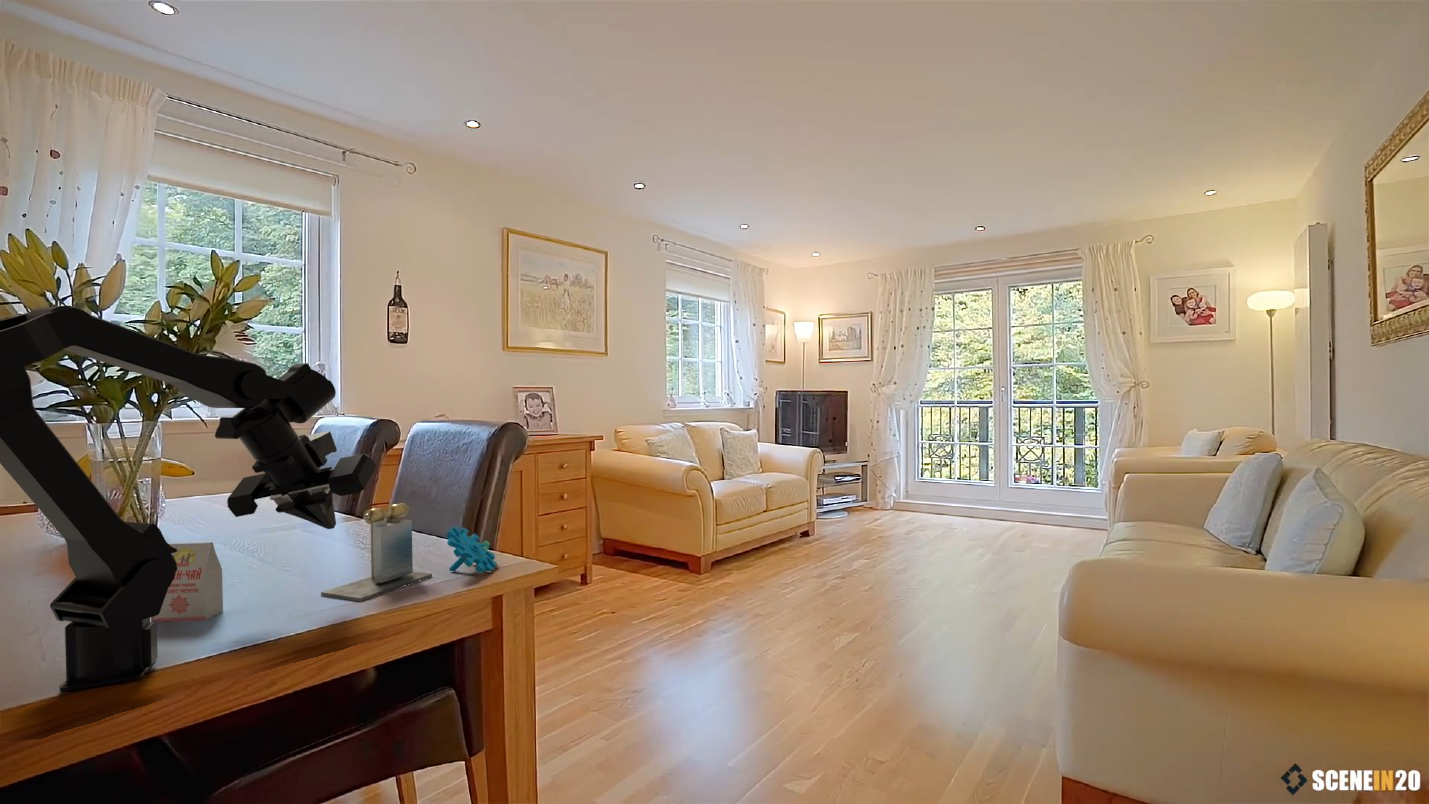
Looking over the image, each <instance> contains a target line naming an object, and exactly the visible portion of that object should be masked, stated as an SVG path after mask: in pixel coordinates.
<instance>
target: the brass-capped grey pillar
mask: <svg viewBox="0 0 1429 804" xmlns="http://www.w3.org/2000/svg"><path fill="white" fill-rule="evenodd" d="M385 516H386V514H385V509H383V508H382V507H374V508H372V509H366V510H365V511H364V514H363V520H364V521H365V523H366V524H368V525H371V524H372V523H373V552H374V582H378V583H383V582H386V581H389V580H392V579H395V578H398V577H402V576H405V575H408V574H411V573H413V572H414V571H413V570H414V569H413V524H412V523H413V520H412V519H401V520H400V521H395V522H391V523H387V520H385Z"/></svg>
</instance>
